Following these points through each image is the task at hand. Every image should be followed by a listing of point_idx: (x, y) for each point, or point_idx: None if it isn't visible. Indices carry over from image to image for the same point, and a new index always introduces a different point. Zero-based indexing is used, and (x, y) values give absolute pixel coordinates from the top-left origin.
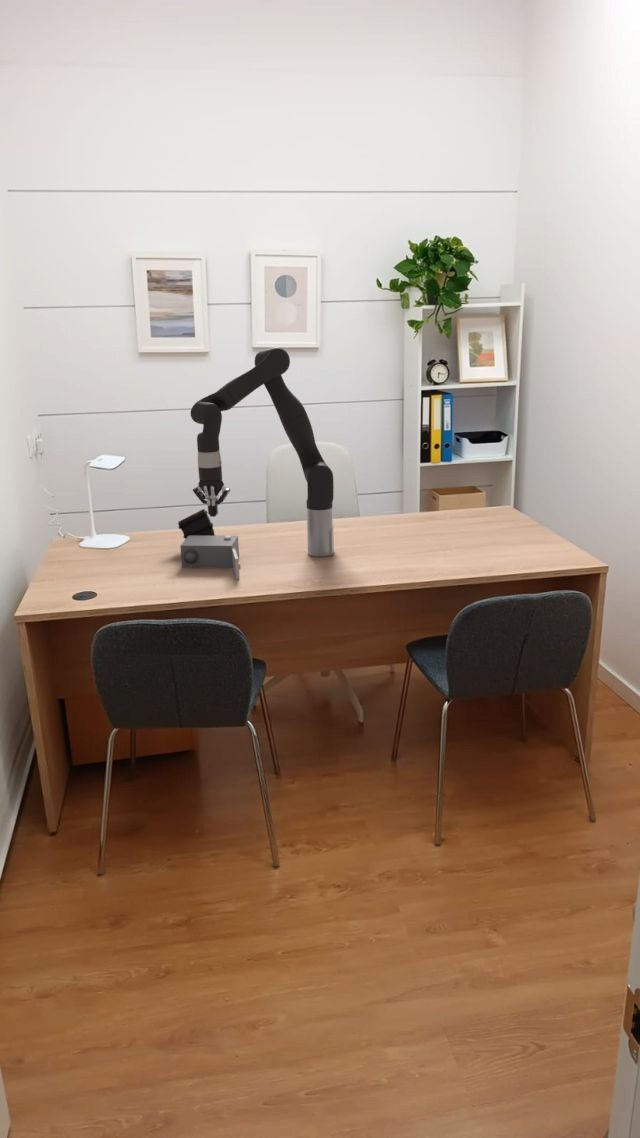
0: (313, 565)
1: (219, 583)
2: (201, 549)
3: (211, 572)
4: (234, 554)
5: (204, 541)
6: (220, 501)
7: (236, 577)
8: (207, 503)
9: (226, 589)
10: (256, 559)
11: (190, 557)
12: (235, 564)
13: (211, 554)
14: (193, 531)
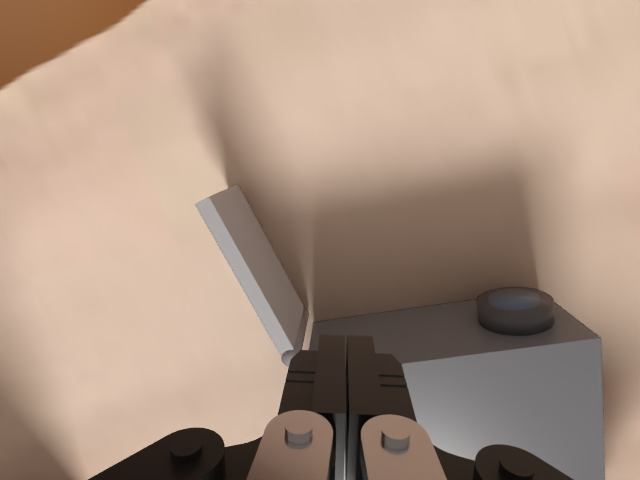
0: (20, 398)
1: (294, 122)
2: (468, 343)
3: (383, 252)
4: (245, 268)
5: (481, 422)
6: (124, 471)
7: (236, 185)
8: (421, 445)
9: (231, 51)
10: (258, 429)
11: (510, 297)
12: (225, 202)
13: (411, 337)
14: None
